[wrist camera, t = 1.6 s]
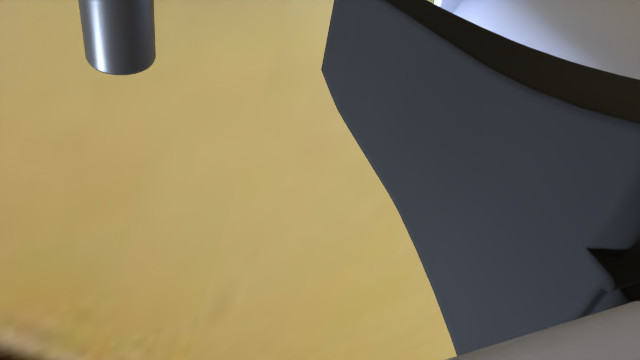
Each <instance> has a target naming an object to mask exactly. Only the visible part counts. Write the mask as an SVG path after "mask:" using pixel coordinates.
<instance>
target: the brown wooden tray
mask: <svg viewBox="0 0 640 360" xmlns="http://www.w3.org/2000/svg"><path fill="white" fill-rule="evenodd" d="M79 8H80V16H81V24H82V32H83V39H84V47H85V55H86V59H87V61H88V63H89V64H90V65H91V66H92V67H93V68H95V69H96V70H98V71H101V72H103V73H107V74H112V75H130V74H135V73H139V72H142V71H144V70H146V69H147V68H149V67H150V66H151V65H152V64H153V62H154V60H155V56H156V54H155V26H154V0H79Z"/></svg>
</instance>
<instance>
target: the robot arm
mask: <svg viewBox="0 0 640 360" xmlns="http://www.w3.org/2000/svg"><path fill="white" fill-rule="evenodd" d="M321 70H322V73H323V75H324V78H325V80H326V83H327V86H328V88H329V91H330V93H331V95H332V98H333V100H334V102H335V105H336V107H337V109H338V111H339V113H340V115H341V116H342V118H343V120H344V122H345V123H346V125H347V127H348V128H349V130H350V132H351V133H352V135H353V137H354V138H355V140H356V142H357V143H358V145H359V146H360V148H361V150H362V151H363V153H364V154H365V156H366V158H367V159H368V161H369V163H370V164H371V166H372V167H373V169H374V171H375V172H376V174H377V175H378V177H379V179H380V180H381V182H382V184H383V185H384V187H385V188H386V190H387V192H388V193H389V195H390V197H391V199H392V201H393V202H394V204H395V206H396V208H397V210H398V212H399V214H400V216H401V218H402V220H403V222H404V224H405V227H406V229H407V231H408V233H409V235H410V237H411V240H412V242H413V244H414V246H415V248H416V250H417V253H418V255H419V258H420V260H421V262H422V265H423V267H424V269H425V272H426V274H427V277H428V279H429V281H430V284H431V286H432V288H433V291H434V293H435V296H436V299H437V301H438V304H439V307H440V309H441V312H442V315H443V317H444V320H445V323H446V325H447V328H448V331H449V333H450V336H451V339H452V342H453V345H454V348H455V351H456V354H457V356H456V357H453V358H450V359H446V360H640V0H435V1H434V4H433V3H431V2H429V1H427V0H334V5H333V10H332V15H331V21H330V26H329V32H328V37H327V42H326V48H325V53H324V58H323V64H322V69H321Z"/></svg>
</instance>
